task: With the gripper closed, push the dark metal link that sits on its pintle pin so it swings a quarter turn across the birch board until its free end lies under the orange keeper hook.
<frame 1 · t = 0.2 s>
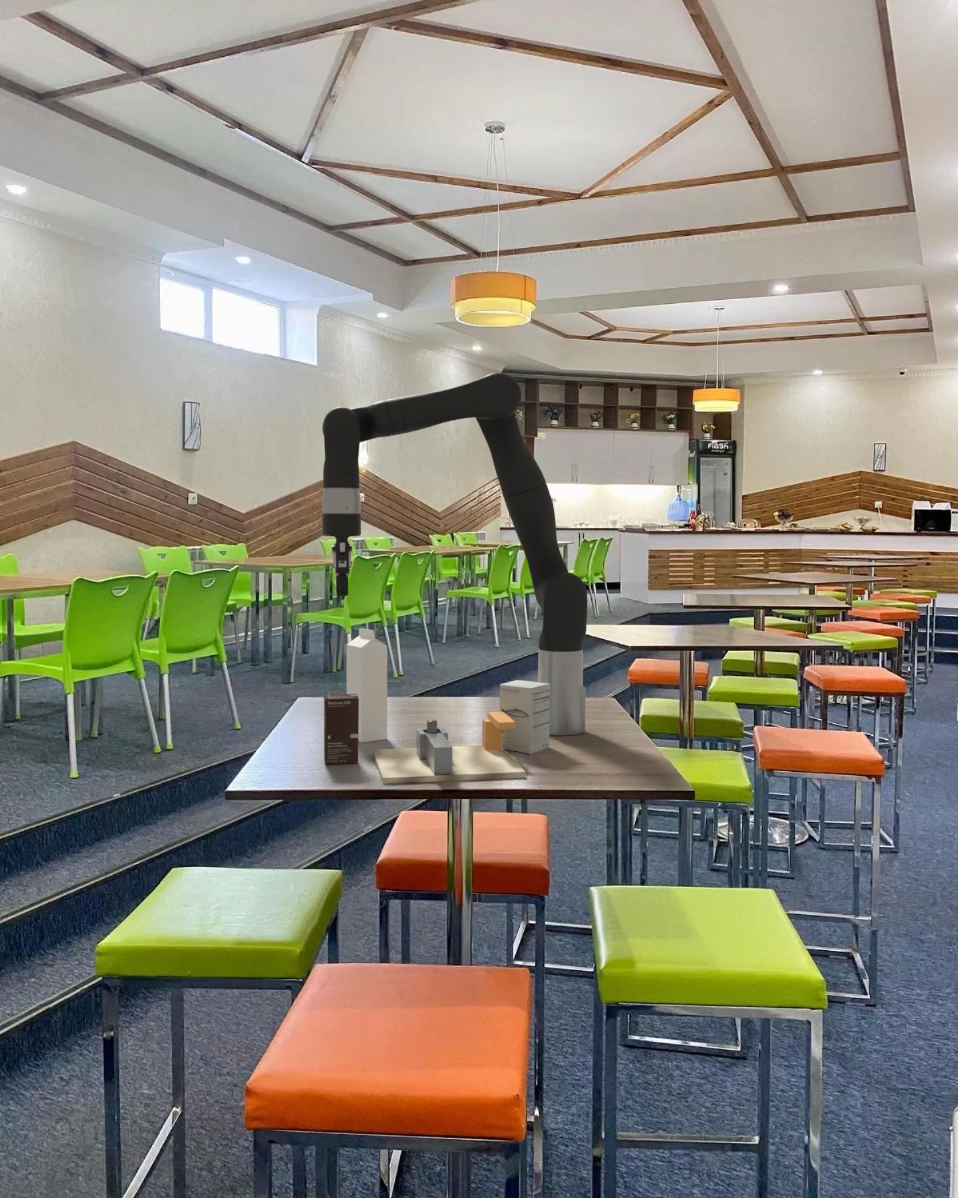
hand: (342, 594, 188), 29 cm above the table, tool pointing down, fingers open, 8 cm apart
box: (341, 763, 171), on the table
link: (436, 750, 166), point 3 cm above the table, hinge at 0.0°
board: (445, 765, 169), on the table
supplement box: (524, 749, 183), on the table
pintle: (431, 762, 172), resting on board
milk: (367, 739, 191), on the table
keeper: (496, 758, 175), resting on board
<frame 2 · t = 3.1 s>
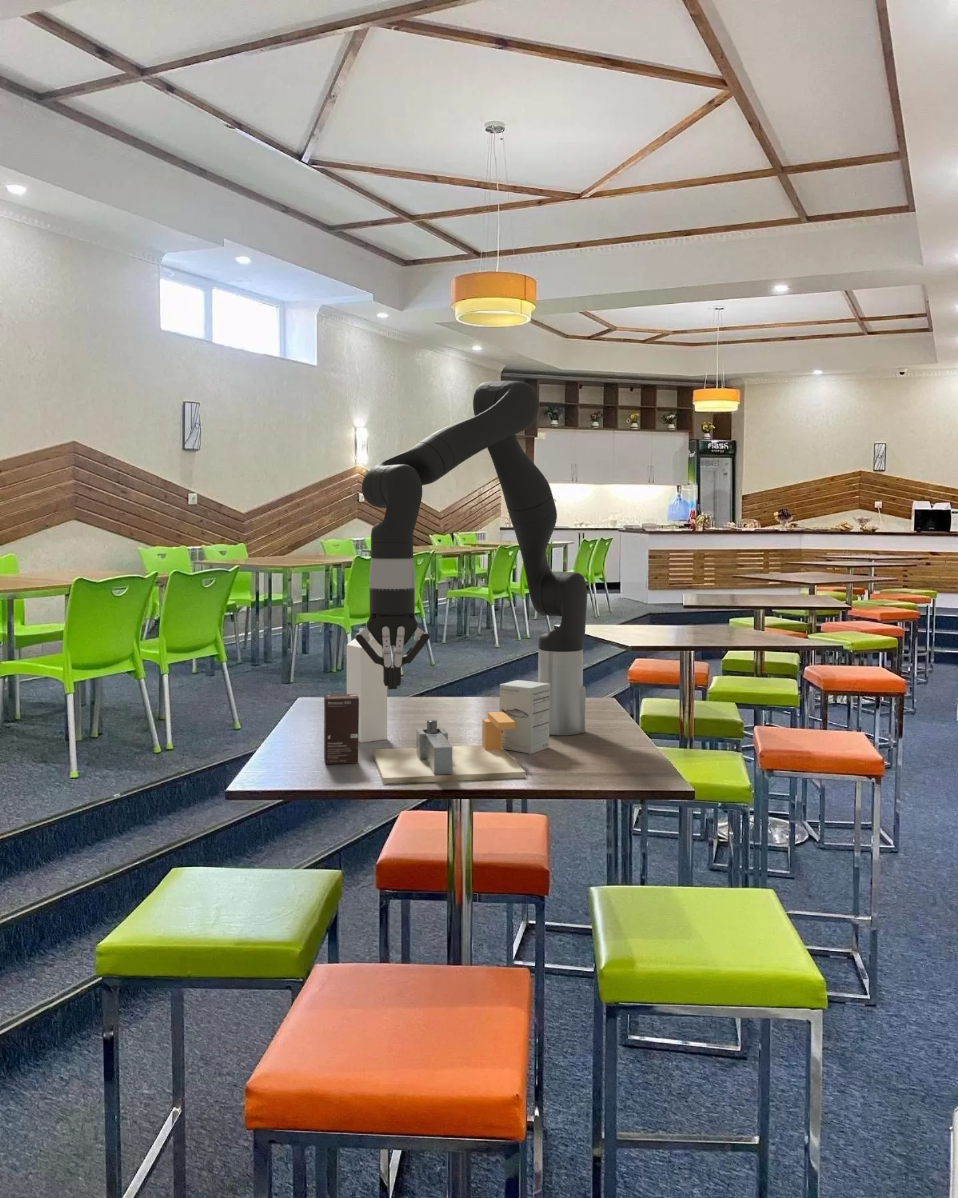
hand: (392, 688, 160), 15 cm above the table, tool pointing down, fingers closed
nothing on the table moved.
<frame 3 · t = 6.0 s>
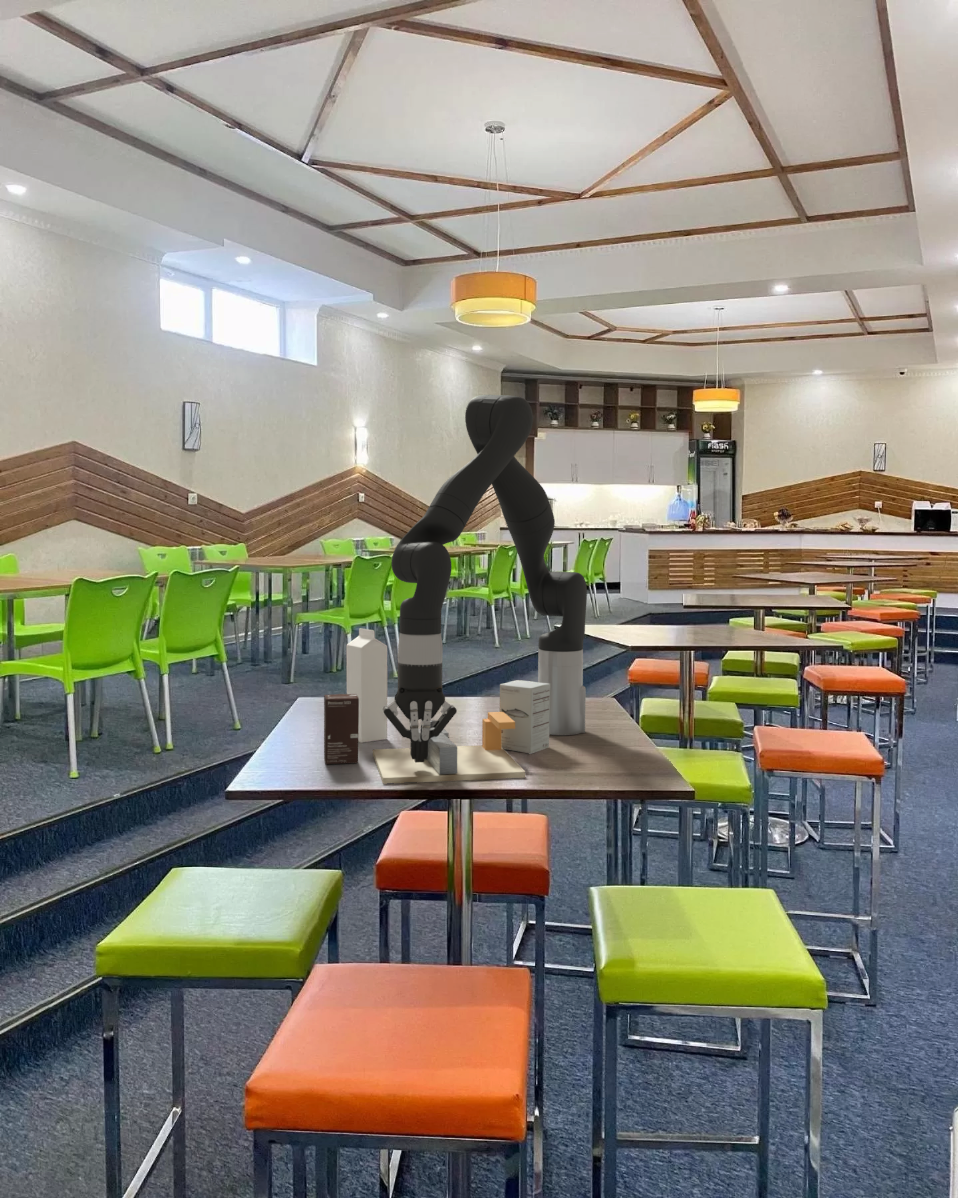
hand: (419, 761, 162), 2 cm above the table, tool pointing down, fingers closed
link: (438, 750, 166), point 3 cm above the table, hinge at 3.7°, touching gripper
everything else where it was.
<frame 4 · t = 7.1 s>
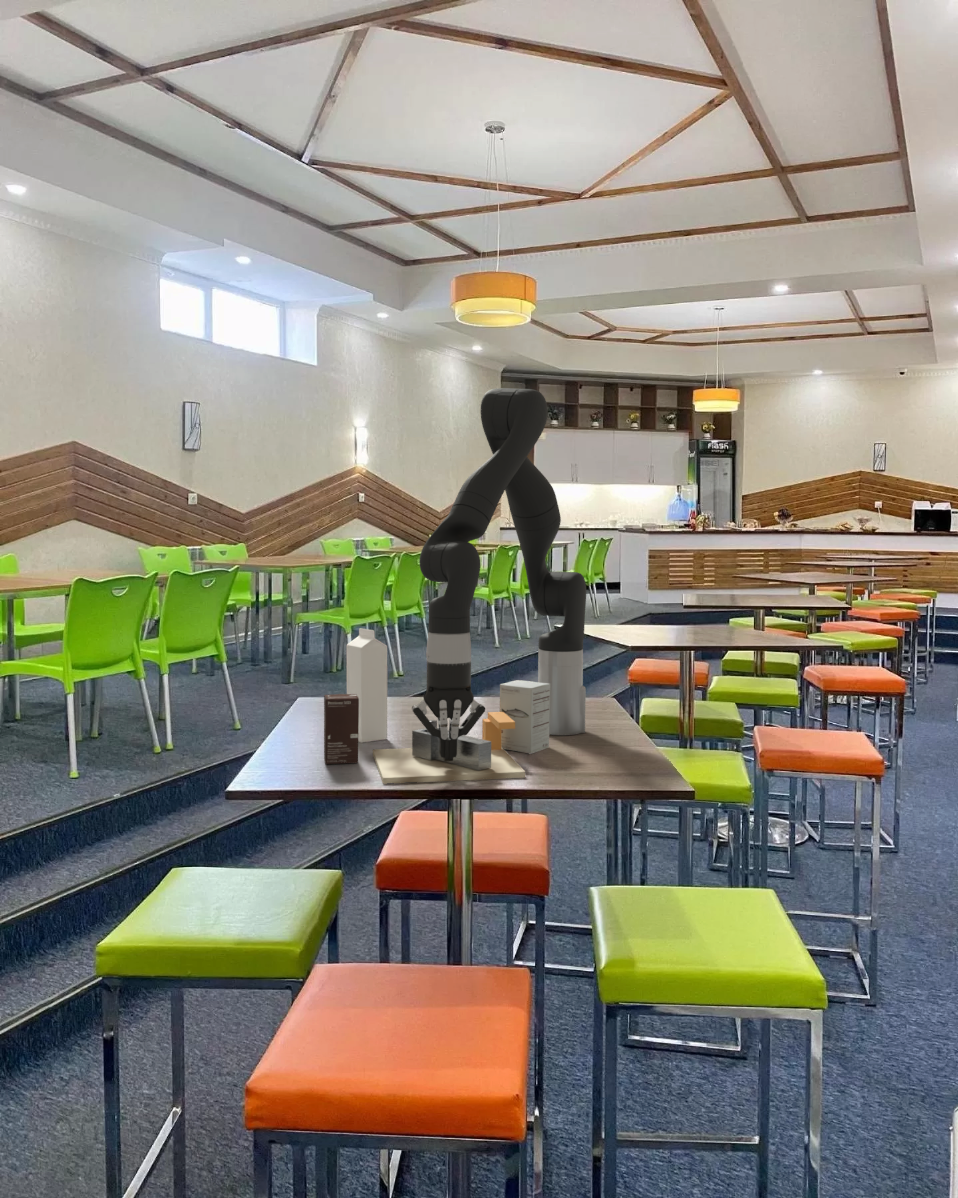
hand: (448, 759, 163), 3 cm above the table, tool pointing down, fingers closed
link: (452, 748, 167), point 3 cm above the table, hinge at 33.7°, touching gripper
everything else where it was.
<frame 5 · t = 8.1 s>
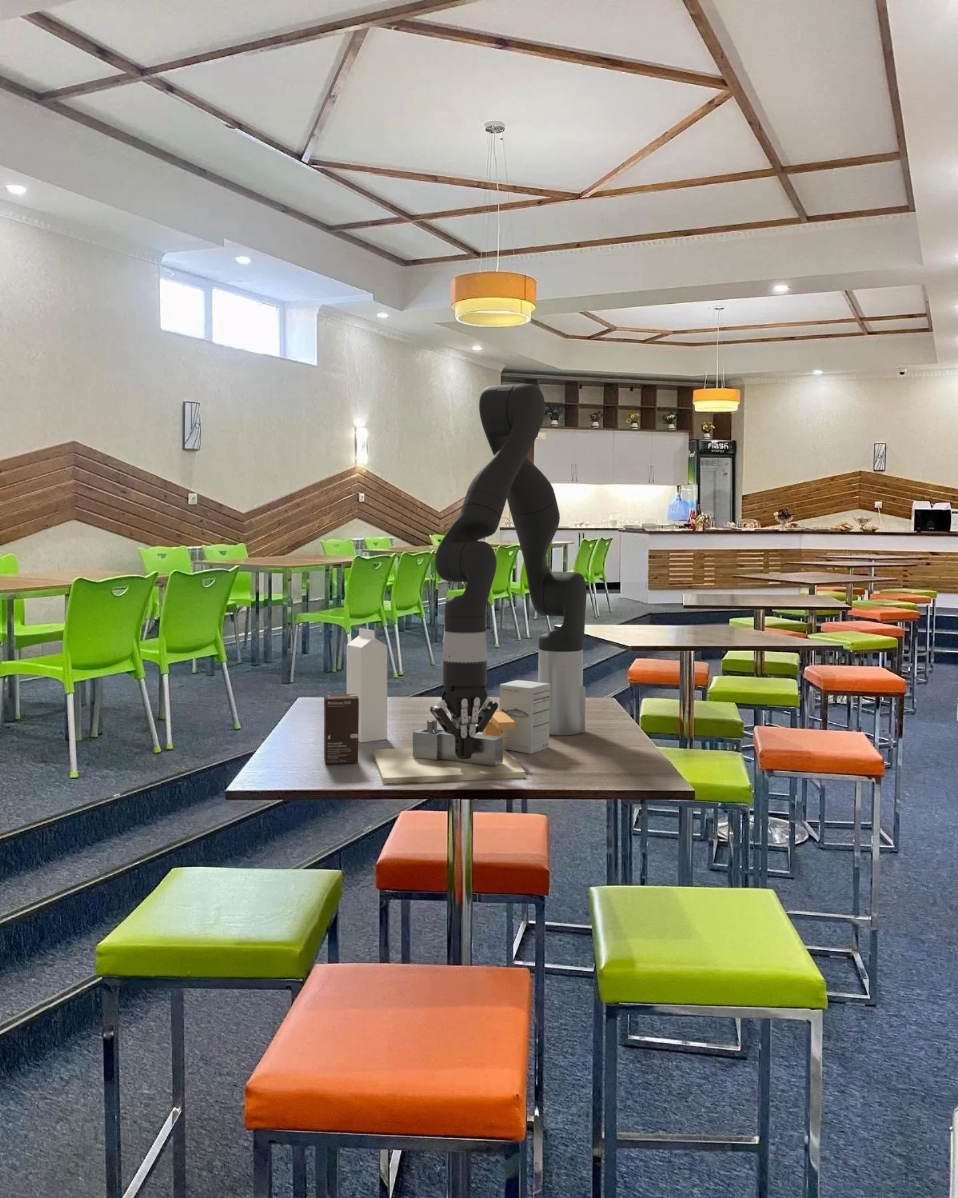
hand: (464, 758, 164), 3 cm above the table, tool pointing down, fingers closed
link: (458, 746, 169), point 3 cm above the table, hinge at 51.3°, touching gripper
everything else where it was.
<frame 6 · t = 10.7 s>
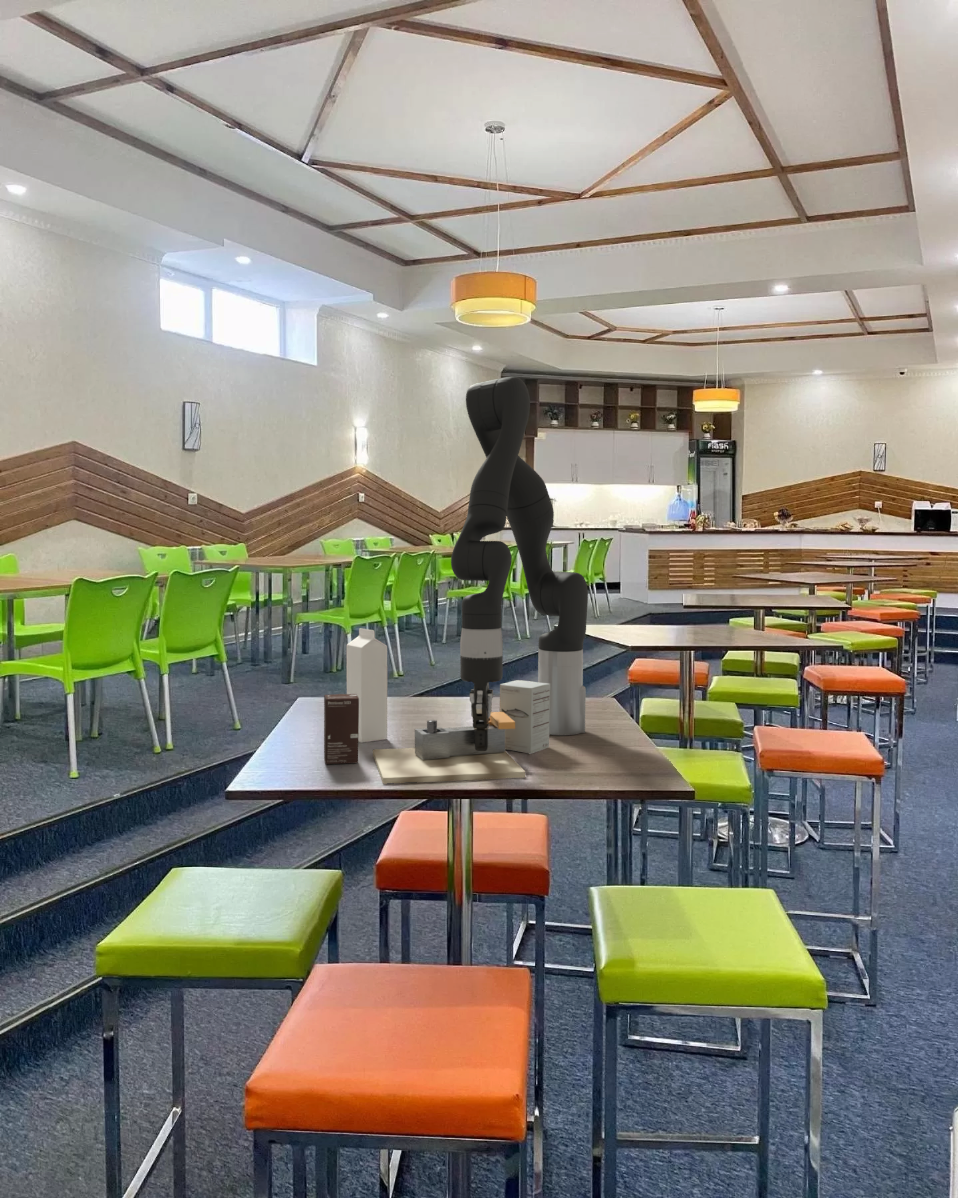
hand: (481, 749, 170), 3 cm above the table, tool pointing down, fingers closed
link: (461, 741, 173), point 3 cm above the table, hinge at 98.6°, touching gripper
everything else where it was.
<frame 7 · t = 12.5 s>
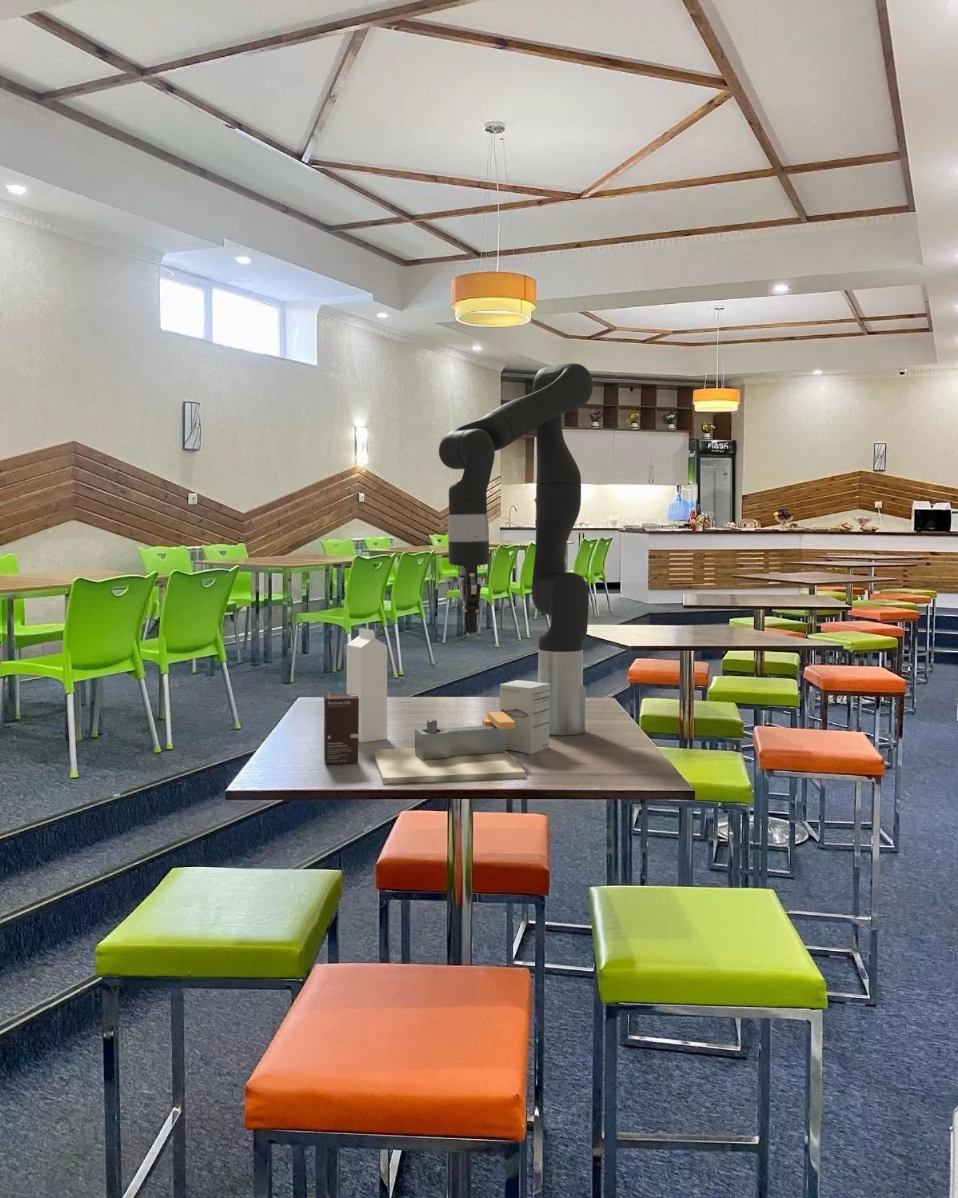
hand: (470, 632, 178), 23 cm above the table, tool pointing down, fingers closed
link: (461, 741, 173), point 3 cm above the table, hinge at 98.6°
everything else where it was.
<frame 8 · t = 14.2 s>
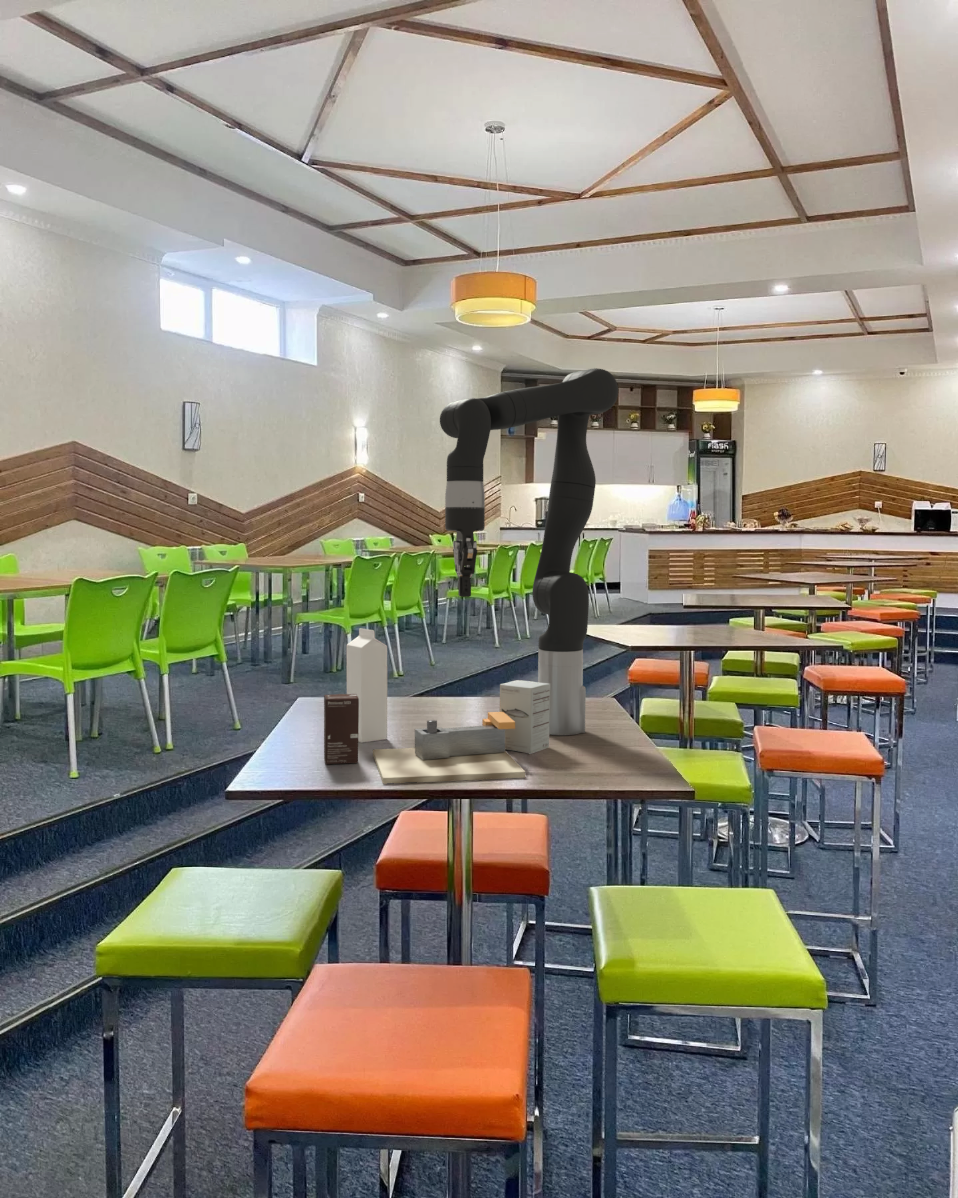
hand: (464, 596, 183), 29 cm above the table, tool pointing down, fingers closed
nothing on the table moved.
at the end: link at +99° (first picture: +0°); the gripper is holding nothing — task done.
